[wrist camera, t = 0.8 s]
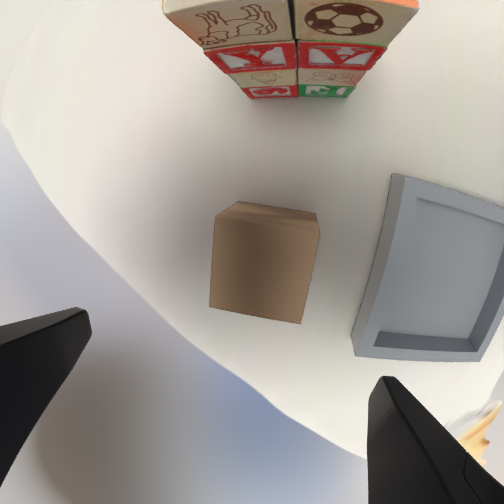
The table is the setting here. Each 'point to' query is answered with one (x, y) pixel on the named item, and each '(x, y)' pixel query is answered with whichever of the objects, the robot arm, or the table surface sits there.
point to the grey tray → (433, 277)
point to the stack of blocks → (292, 40)
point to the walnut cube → (263, 261)
